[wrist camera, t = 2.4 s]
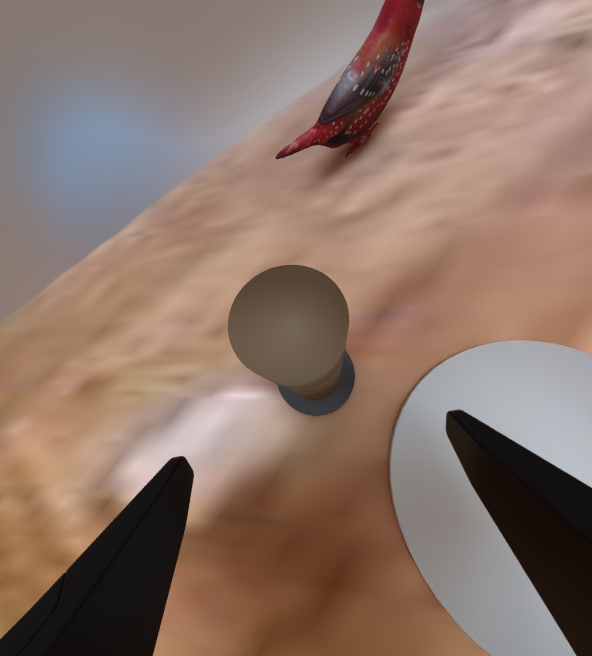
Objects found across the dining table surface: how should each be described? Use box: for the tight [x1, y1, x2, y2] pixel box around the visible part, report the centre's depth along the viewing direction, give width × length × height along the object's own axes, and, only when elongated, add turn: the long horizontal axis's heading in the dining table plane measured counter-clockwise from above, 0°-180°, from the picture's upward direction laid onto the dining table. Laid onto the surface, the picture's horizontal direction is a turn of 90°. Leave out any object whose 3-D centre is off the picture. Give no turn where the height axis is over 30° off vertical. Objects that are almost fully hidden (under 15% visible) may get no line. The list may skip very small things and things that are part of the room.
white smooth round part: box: [388, 340, 592, 656], centre depth 16 cm, size 18×18×1 cm
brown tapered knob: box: [228, 265, 355, 415], centre depth 14 cm, size 6×6×13 cm
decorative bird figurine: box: [276, 0, 424, 159], centre depth 21 cm, size 3×18×10 cm, turn 138°
